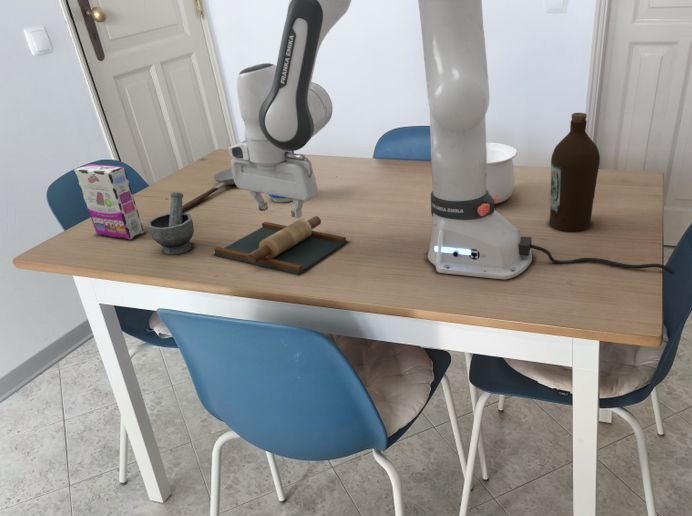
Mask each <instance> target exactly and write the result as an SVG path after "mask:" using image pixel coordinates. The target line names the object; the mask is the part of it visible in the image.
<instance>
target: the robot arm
mask: <svg viewBox="0 0 692 516" xmlns="http://www.w3.org/2000/svg"><path fill="white" fill-rule="evenodd" d="M351 3H352V0H289V1H288V5H287V11H286V17H285V22H284V26H283V30H282V36H281V40H280V46H279V49H278V50H279V51H278V57H277V61H276V64H274V63H271V62H270V63H269V62H268V63H267V62H265V63H260V64H259V63H258V64H256V65H253V66H252V65H251V66H249V67H246V68H244V69H242V70H241V71H240V72H239V73H238V75H237V78H236V91H237V100H238V107H239V113H240V117H241V119H242V121H243V124H244V140H243V141H242V142H239V143H235V144H233V145H231V146H230V147H228V154H229V156H230V158H231V161H230V166H231V167H230V168H232V174H233V178H234V182H235V184H234V185H235V186H236V187H237V188H238V189H239V190H244V191H249V193H250V196H251V198H252V199H253V201H254V202H255V204H256V207H257V210H258V211H259V212H266V211H268V209H269V206H268V201H266V200H264V197H263V196H262V194H265V195H269V194H270V195H276V196H281V197H286V198H292V199H293V201H292V203H293V204H294V207H293V208H291V209H290V213H291V217H292V218H294V219H300V218H301V217H302V216H303V212H302V208H303V206H304V203H305V202H308V201H310V200H313V199H314V198H316V197H317V195H318V194H319V193H318V191H319V189H318V185H317V181H316V176H315V172H314V170H313V164H312V162H311V160H309V158H307V157H306V155H304V154H302V153H295V152H296V151H299V150H301V149H302V148H304V147H305V146H306V145H307V143H309V141H310V140H311V139H312V138H314V136H316V135H317V134H318V133H319V132H320V131H321V130H322V129H324V128H325V127H326V125H328V124H329V122H330V121H331V119H332V115H333V102H332V100H331V97H330V95H329V93H328V92H327V91H326V90H325V88H323V87H322V86H321V85H319V84H318V83H316V82H313V76H314V70H315V66H316V62H317V57H318V53H319V50H320V47H321V45H322V43H323V41H324V40H325V38H326V36H327V35H328V33H329V32H330V31H331V30H332V29H333V27H335V25H336V24H337V23H338V22H339V21H340V20H341V19H342V18H343V17H344V16H345V15H346V13H347V12H348V10H349V8H350V6H351ZM417 3H418V11H419V19H420V21H419V22H420V28H421V29H420V30H421V40H422V51H423V61H424V70H425V82H426V91H427V100H428V101H427V102H428V107H429V130H430V162H431V163H430V164H431V182H432V183H431V187H432V188H431V189H432V190H431V192H430V212H431V216H432V225H431V226H432V229H431V235H430V236H431V237H430V244H429V248H428V252H427V259H428V261H429V262H430V263H431V264H433V265H434V266H435V270H436V272H438V273H439V274H448V275H457V276H465V277H476V278H478V277H479V278H485V279H486V278H487V279H495V280H510V279H512V278H515V277H517V276H519V275H521V274H522V273H523V272H524V271H526V269H528V267H529V266H530V265H531V263H532V261H533V253H532V249H533V250H537V251H540V252H542V253H544V254H545V255H547V257H548V259H549V261H550V262H551V263H553V264H556V265H567V264H578V263H582V262H595V263H601V264H607V265H611V266H615V267H620V268H624V269H635V270H637V269H649V268H658V269H662V270H665V271H666V272H668V273H669V274H670V275H675V272H674V270H673V269H672V268H670V267H669V266H668V265H665V264H662V263H644V264H643V263H642V264H629V263H623V262H618V261H613V260H609V259H604V258H599V257H598V258H597V257H581V258H575V259H571V260H558V259H555V258H554V257H553V255H552V253H551V252H550V251H549V250H548V249H546V248H545V247H541V246H538V245H535V244H532V239H533V238H532V236H521V233H520V231H519V229H518V227H516V226H515V225H513V224H512V223H511V222H510V221H509V220H507V218H505V217H504V216H503V215H502V214H501V213H499V212H498V210H496V208H495V205H496V204H494V203H495V202H496V201H497V200H498V199H497V197H498V195H496V196H495V197H494V198H492V197H491V196H490V194H489V193H488V191H487V189H486V176H487V149H486V142H487V129H486V128H487V127H486V115H487V112H488V109H489V106H490V83H489V74H488V73H489V72H488V62H487V51H486V50H487V47H486V40H485V39H486V38H485V29H484V27H485V26H484V16H483V2H482V0H417ZM292 151H294V153H292Z"/></svg>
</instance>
